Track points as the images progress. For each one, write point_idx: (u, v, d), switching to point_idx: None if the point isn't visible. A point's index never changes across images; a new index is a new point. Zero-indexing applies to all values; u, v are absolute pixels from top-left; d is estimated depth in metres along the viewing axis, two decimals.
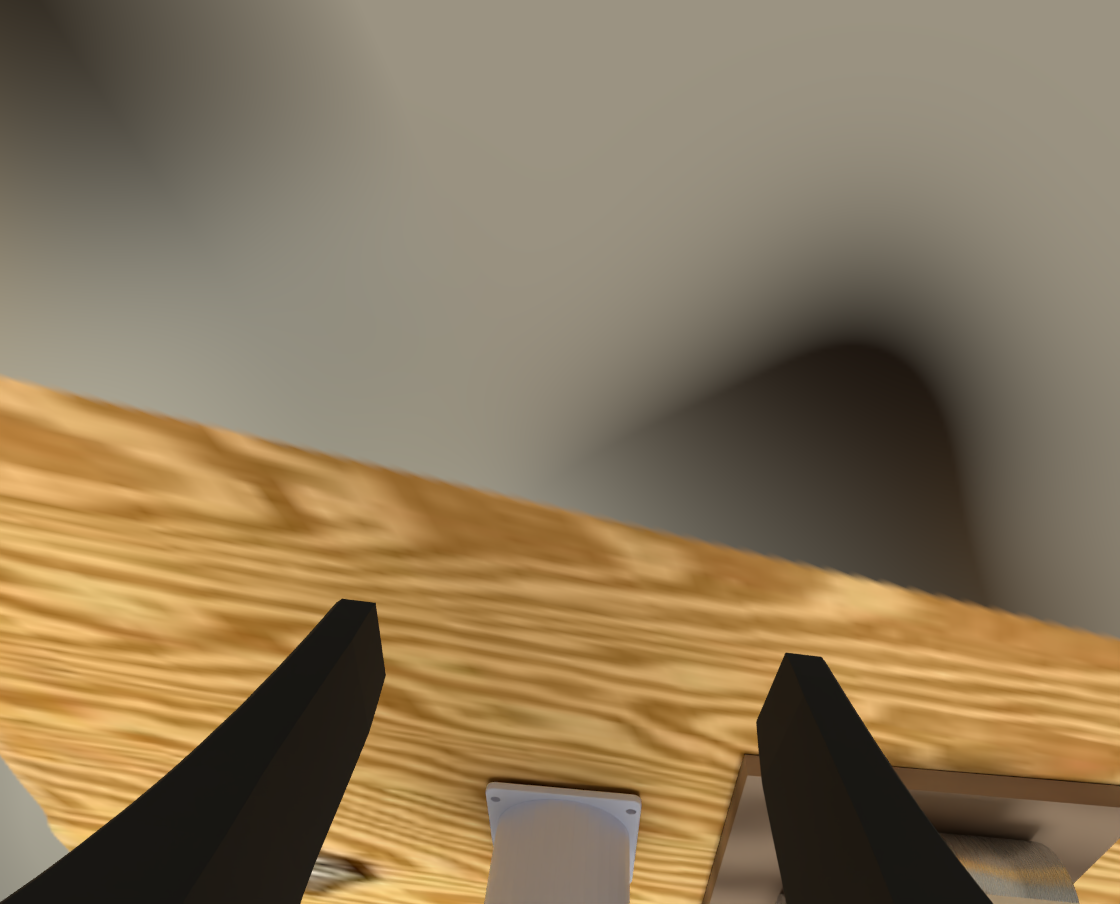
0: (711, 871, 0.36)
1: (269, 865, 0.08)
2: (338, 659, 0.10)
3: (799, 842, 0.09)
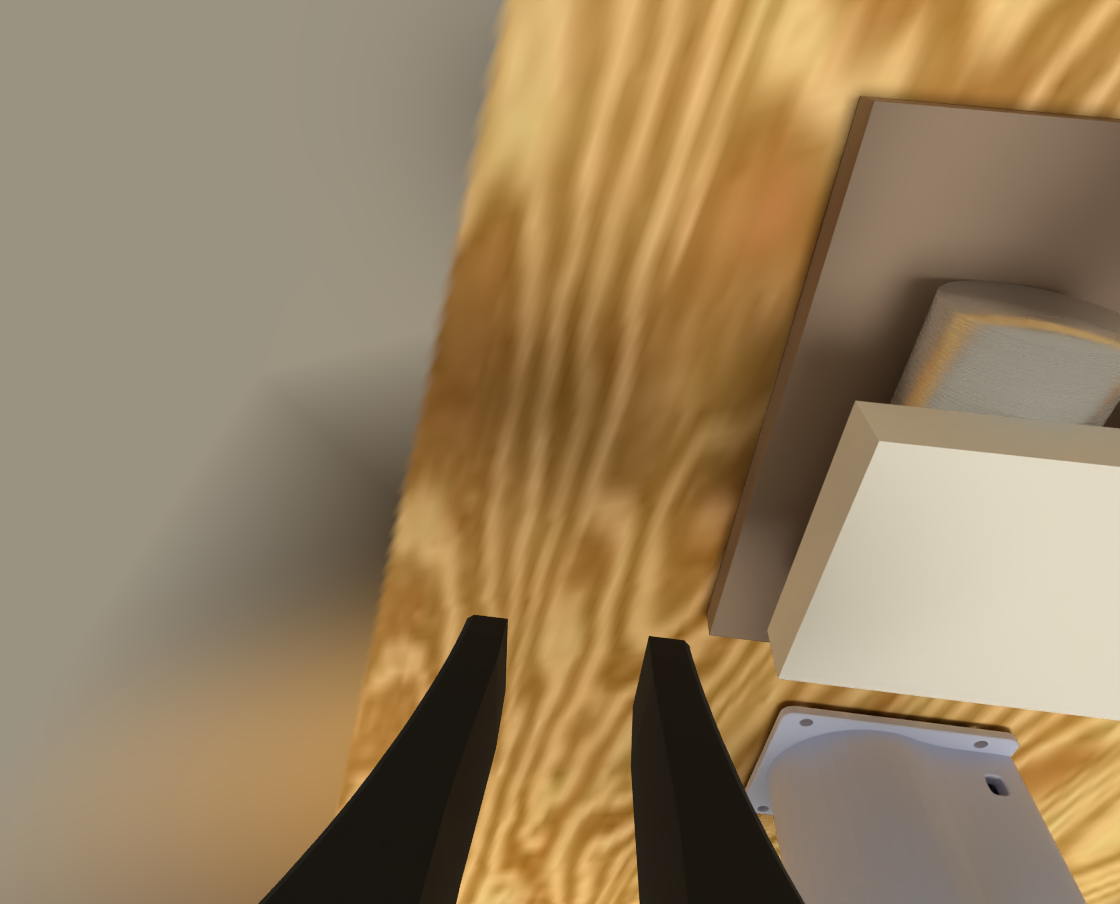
0: None
1: (443, 889, 0.08)
2: (488, 678, 0.09)
3: (646, 822, 0.10)
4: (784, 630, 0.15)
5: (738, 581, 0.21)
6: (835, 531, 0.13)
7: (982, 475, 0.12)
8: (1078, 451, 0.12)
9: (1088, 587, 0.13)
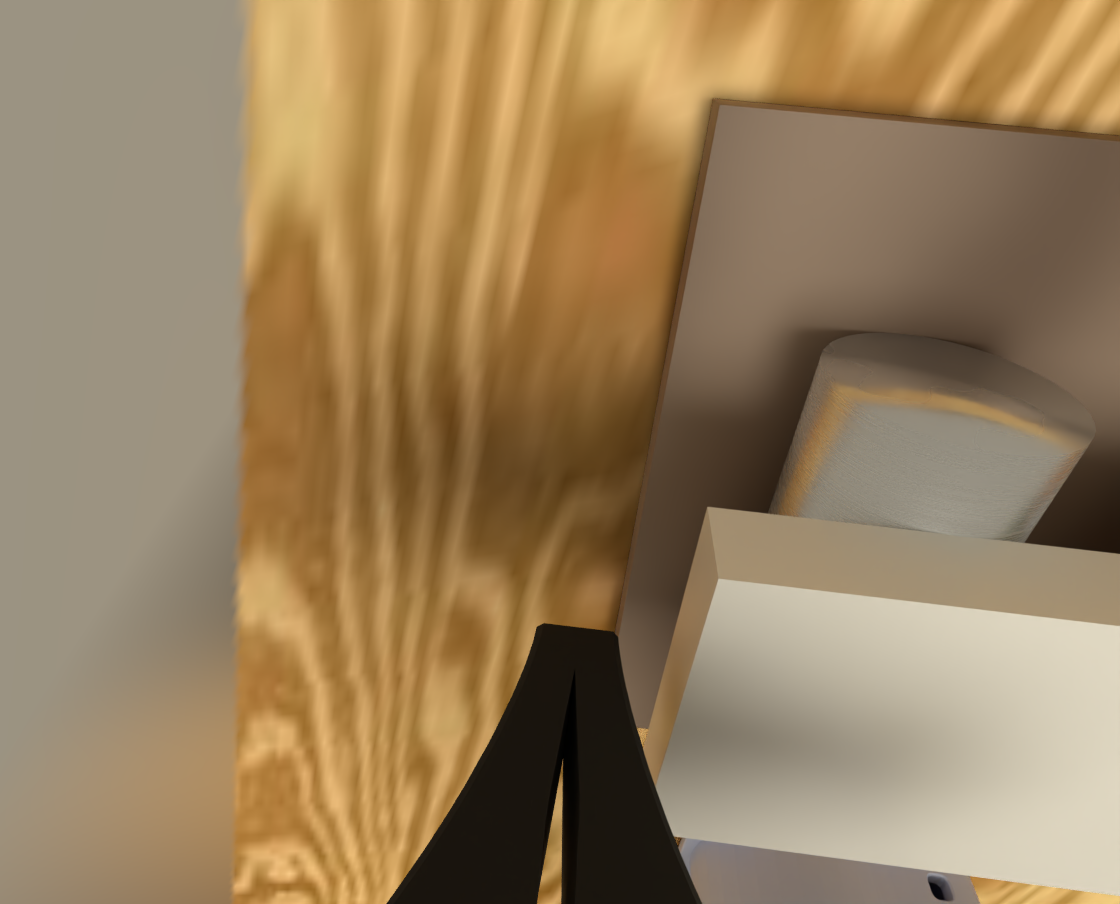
0: None
1: None
2: (569, 688, 0.09)
3: (567, 811, 0.10)
4: None
5: (627, 667, 0.18)
6: (685, 676, 0.10)
7: (862, 622, 0.09)
8: (995, 590, 0.09)
9: (1018, 751, 0.10)
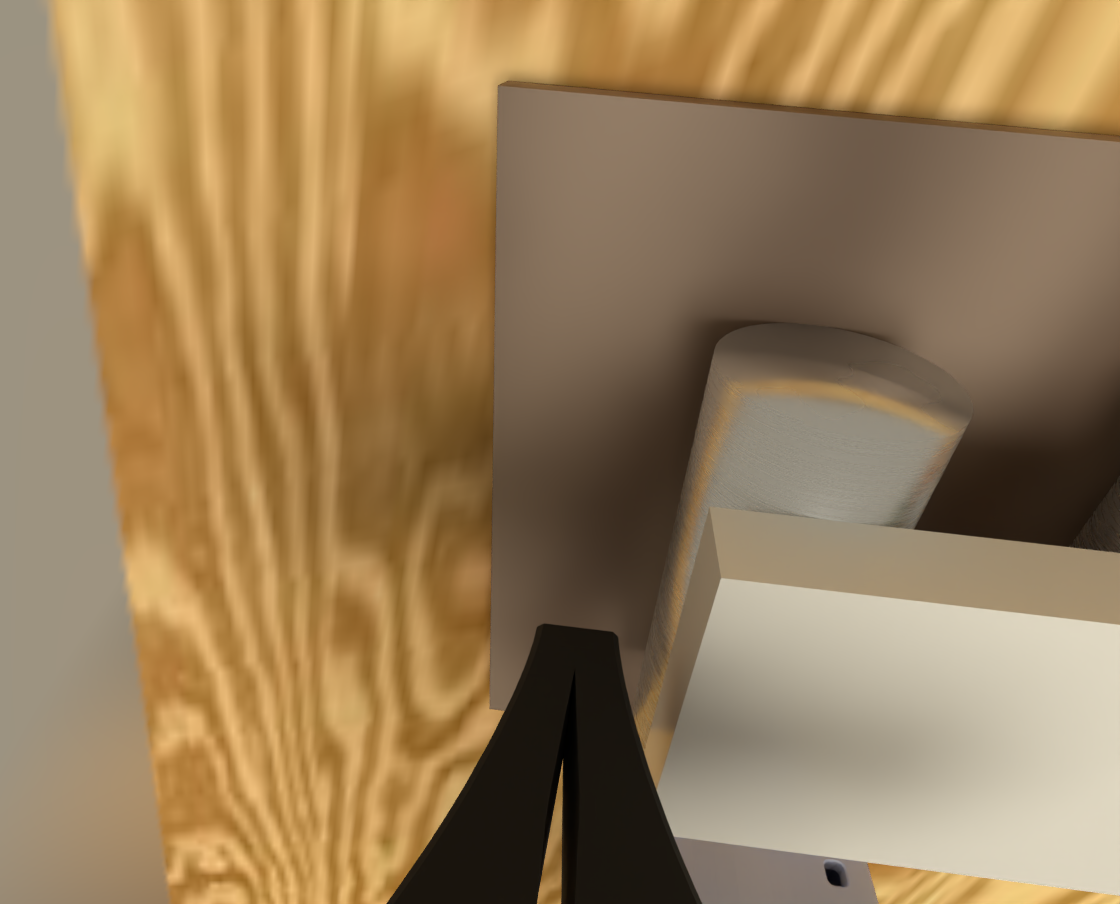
0: None
1: None
2: (569, 688, 0.09)
3: (567, 811, 0.10)
4: (651, 772, 0.12)
5: (504, 652, 0.18)
6: (687, 675, 0.10)
7: (865, 621, 0.09)
8: (997, 589, 0.09)
9: (1021, 750, 0.10)
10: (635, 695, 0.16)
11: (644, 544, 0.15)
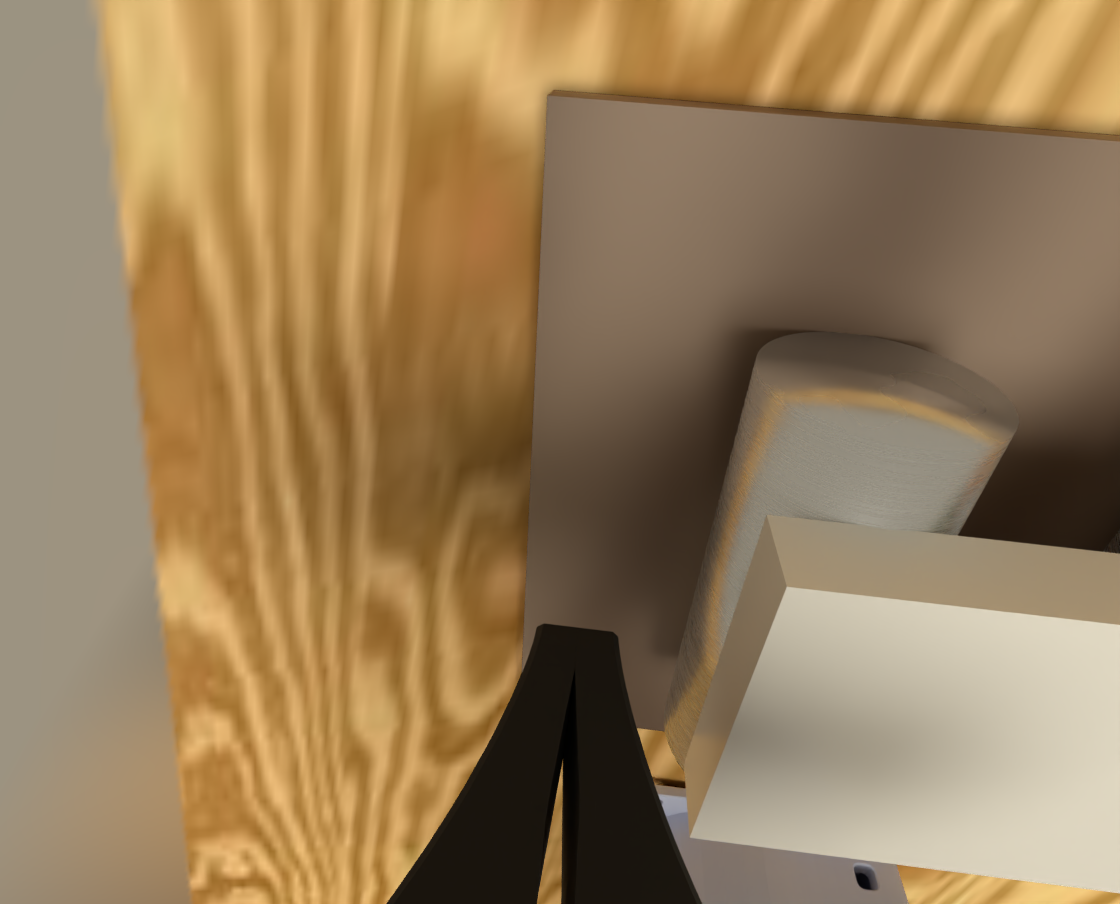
0: None
1: None
2: (569, 688, 0.09)
3: (567, 812, 0.10)
4: (697, 778, 0.12)
5: None
6: (743, 682, 0.10)
7: (928, 630, 0.09)
8: (1059, 597, 0.09)
9: (1075, 756, 0.10)
10: (667, 697, 0.16)
11: (680, 549, 0.15)
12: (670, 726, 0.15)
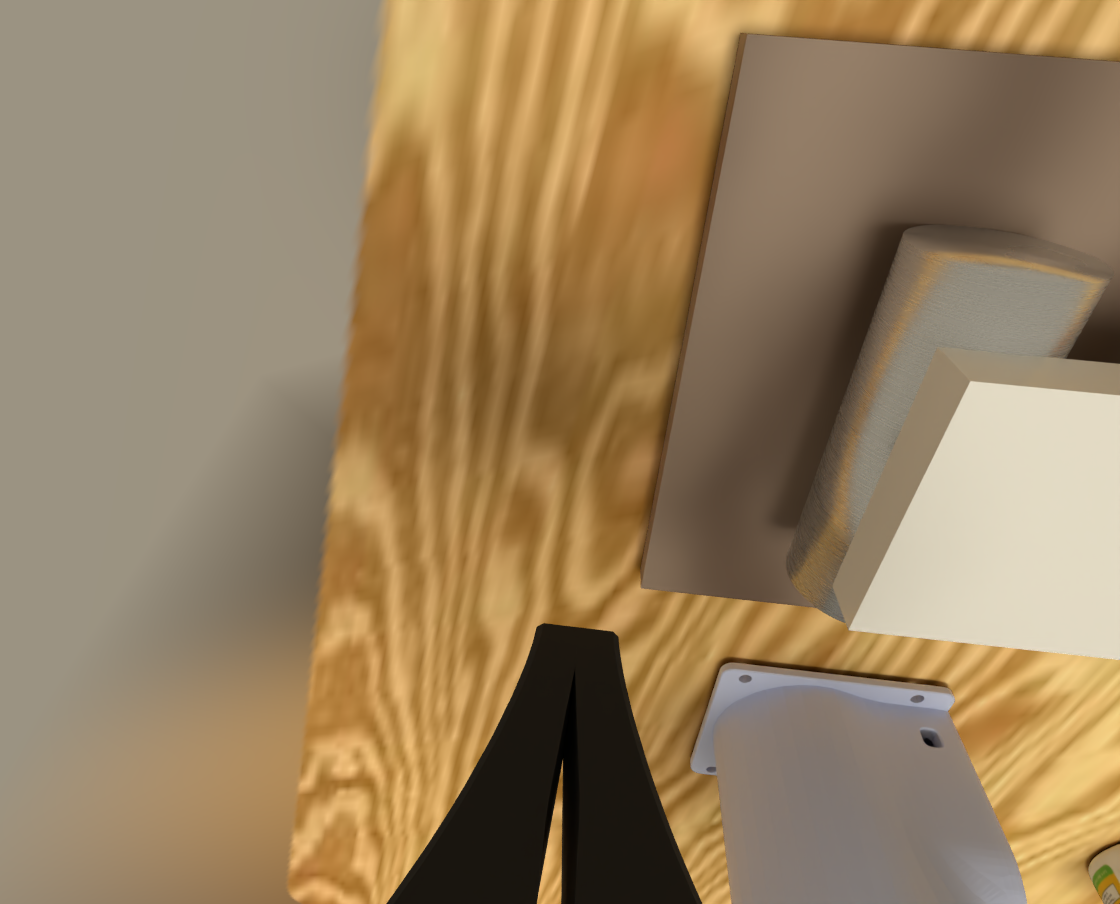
0: None
1: None
2: (569, 688, 0.09)
3: (567, 811, 0.10)
4: (854, 582, 0.16)
5: (663, 531, 0.22)
6: (917, 476, 0.13)
7: (1069, 414, 0.12)
8: None
9: None
10: (790, 552, 0.19)
11: (801, 424, 0.19)
12: (798, 571, 0.19)
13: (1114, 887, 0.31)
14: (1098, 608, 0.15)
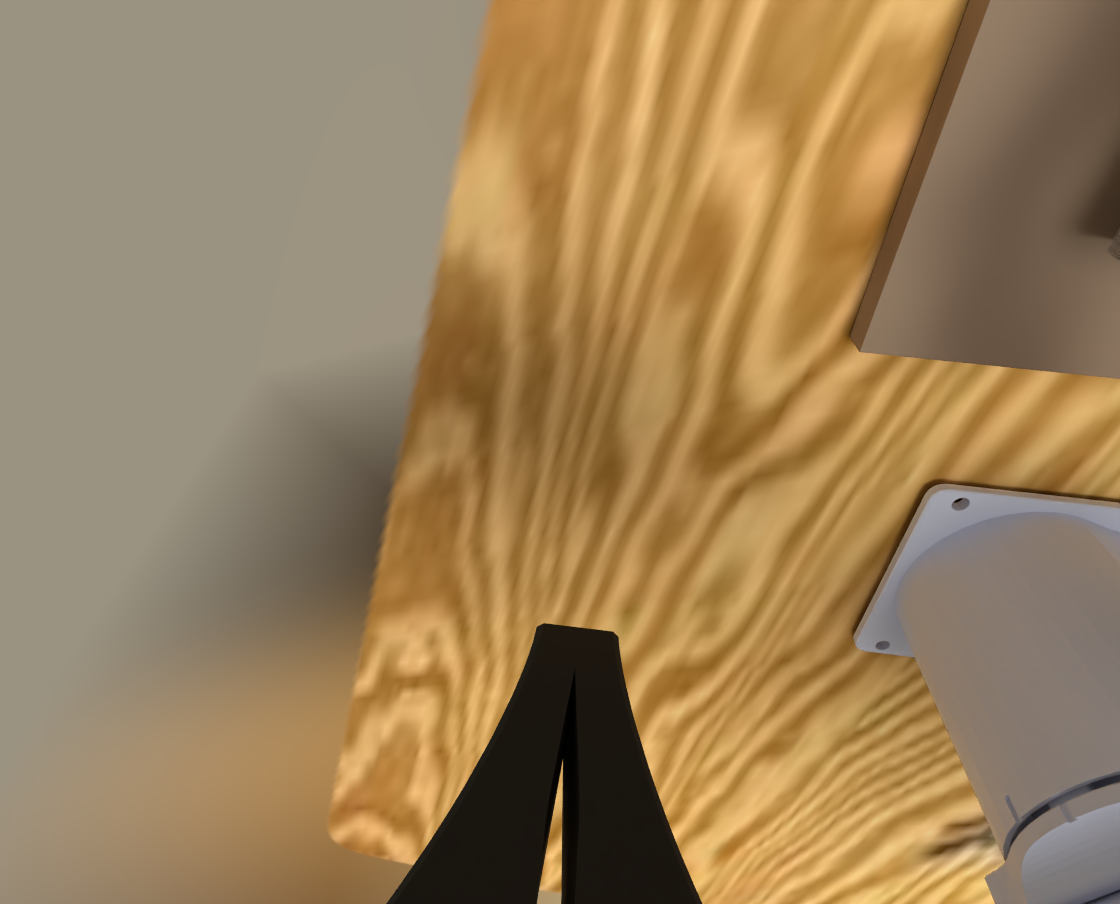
0: None
1: None
2: (568, 688, 0.09)
3: (567, 812, 0.10)
4: None
5: (914, 250, 0.16)
6: None
7: None
8: None
9: None
10: None
11: None
12: None
13: None
14: None
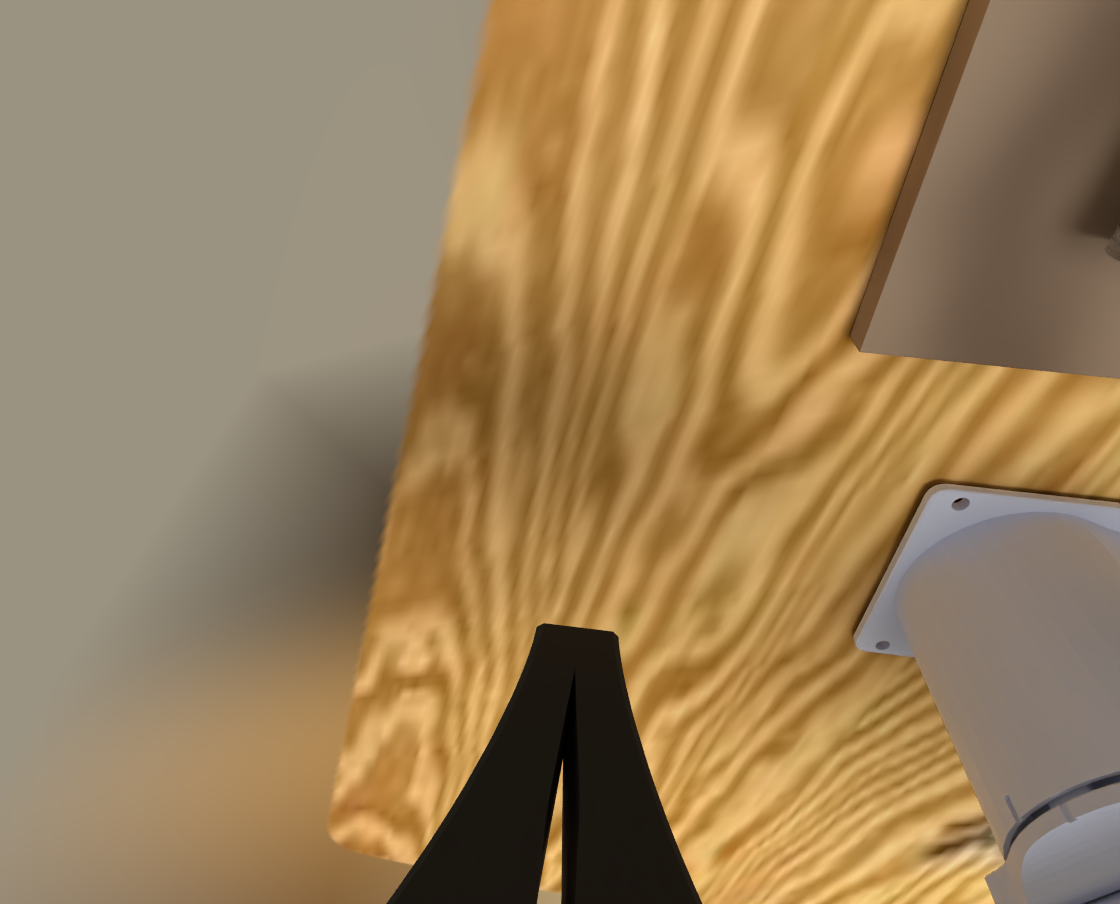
0: None
1: None
2: (568, 688, 0.09)
3: (567, 812, 0.10)
4: None
5: (914, 250, 0.16)
6: None
7: None
8: None
9: None
10: None
11: None
12: None
13: None
14: None
